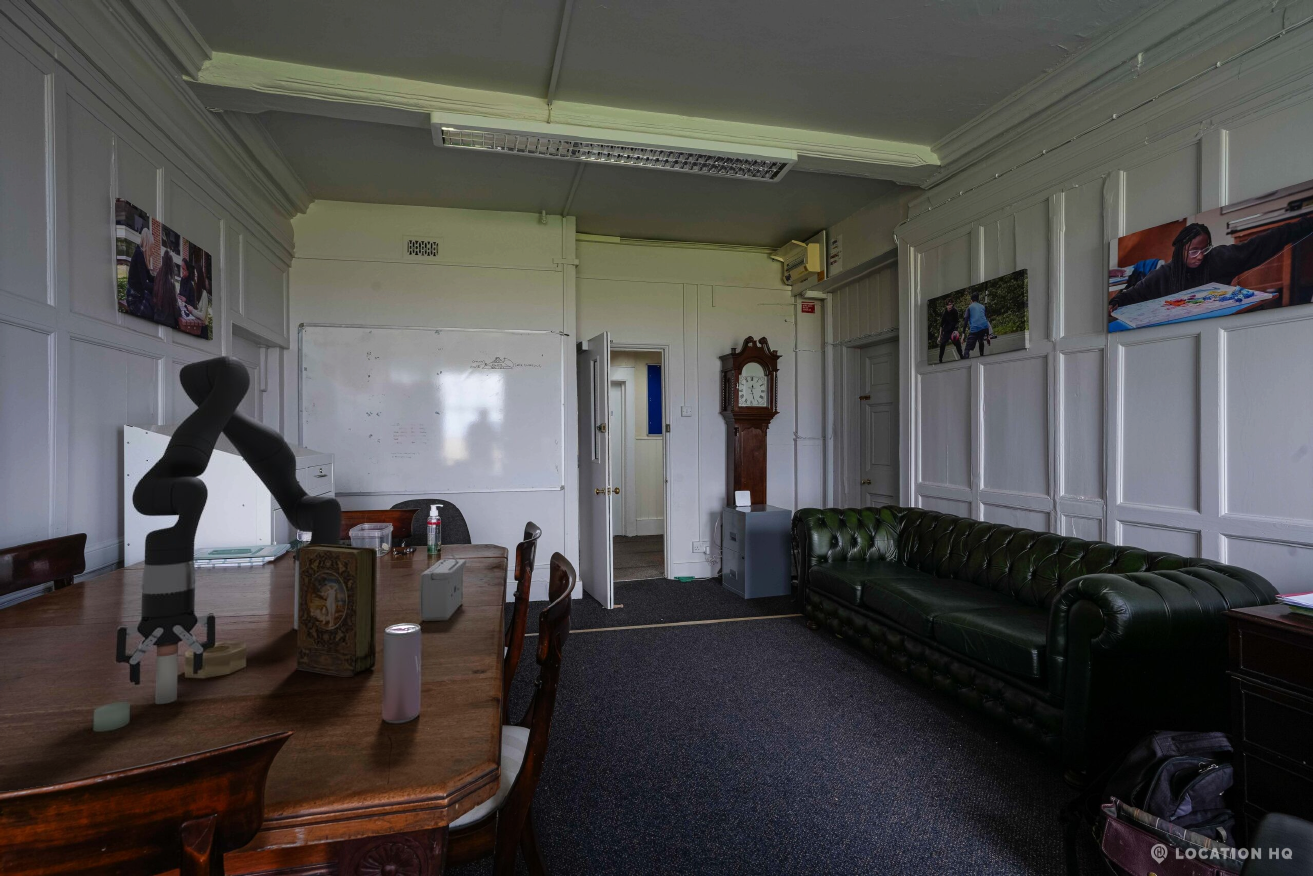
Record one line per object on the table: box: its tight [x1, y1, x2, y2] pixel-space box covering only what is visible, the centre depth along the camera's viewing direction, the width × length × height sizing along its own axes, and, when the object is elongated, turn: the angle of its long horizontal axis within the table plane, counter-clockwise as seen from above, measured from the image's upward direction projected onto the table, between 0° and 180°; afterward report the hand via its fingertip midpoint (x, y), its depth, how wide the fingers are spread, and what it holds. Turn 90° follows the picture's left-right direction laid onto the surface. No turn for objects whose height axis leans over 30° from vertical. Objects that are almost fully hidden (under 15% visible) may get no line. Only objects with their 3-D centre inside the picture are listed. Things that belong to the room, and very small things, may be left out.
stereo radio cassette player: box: [419, 545, 467, 622], centre depth 171 cm, size 21×8×20 cm, turn 6°
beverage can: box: [381, 623, 422, 724], centre depth 104 cm, size 6×6×15 cm
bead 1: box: [92, 701, 131, 732], centre depth 100 cm, size 4×4×3 cm
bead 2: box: [184, 641, 247, 679], centre depth 125 cm, size 10×10×4 cm
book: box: [296, 544, 378, 678], centre depth 126 cm, size 16×6×25 cm, turn 71°
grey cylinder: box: [155, 643, 179, 705], centre depth 109 cm, size 3×3×10 cm
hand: (166, 678), depth 109 cm, fingers open, 7 cm apart
